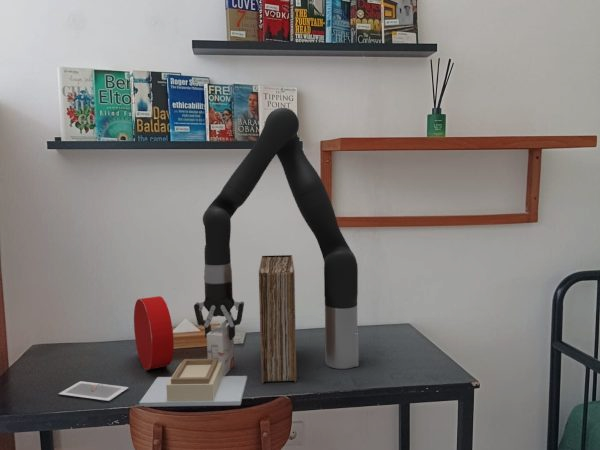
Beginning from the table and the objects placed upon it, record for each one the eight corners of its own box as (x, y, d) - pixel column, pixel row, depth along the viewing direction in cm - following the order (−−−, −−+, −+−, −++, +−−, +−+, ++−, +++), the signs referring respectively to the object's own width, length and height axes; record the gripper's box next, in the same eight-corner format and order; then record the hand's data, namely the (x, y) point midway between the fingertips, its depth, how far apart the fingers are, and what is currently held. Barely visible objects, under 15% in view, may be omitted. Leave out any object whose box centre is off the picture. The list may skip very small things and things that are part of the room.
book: (296, 383, 129) (294, 270, 126) (261, 384, 128) (258, 271, 126) (293, 349, 154) (292, 254, 151) (264, 350, 154) (261, 255, 151)
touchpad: (109, 405, 119) (108, 396, 119) (58, 397, 124) (58, 389, 123) (129, 391, 127) (128, 383, 127) (80, 385, 131) (80, 377, 131)
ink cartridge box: (218, 364, 143) (216, 314, 142) (234, 365, 142) (233, 315, 141) (207, 375, 135) (205, 323, 133) (224, 377, 134) (222, 324, 132)
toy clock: (175, 375, 135) (172, 303, 133) (153, 380, 132) (150, 307, 130) (155, 353, 152) (152, 290, 150) (135, 357, 149) (132, 292, 147)
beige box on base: (247, 379, 132) (246, 356, 131) (240, 405, 117) (239, 380, 116) (157, 380, 132) (156, 358, 131) (139, 406, 117) (138, 381, 116)
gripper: (245, 276, 139) (247, 334, 141) (195, 277, 140) (197, 335, 141) (242, 282, 132) (244, 343, 134) (189, 282, 132) (191, 344, 134)
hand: (220, 339), depth 137 cm, fingers closed on ink cartridge box, 5 cm apart
